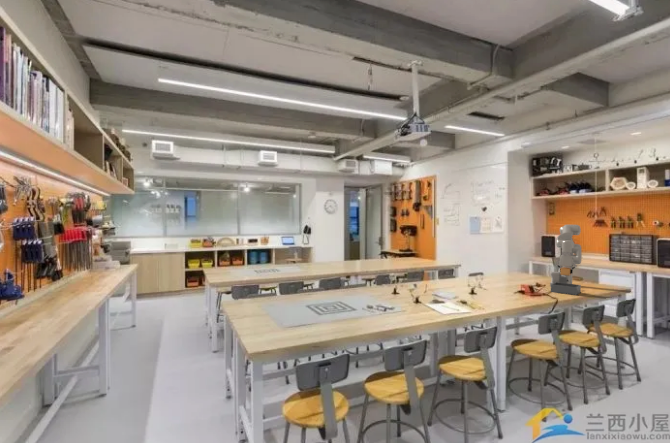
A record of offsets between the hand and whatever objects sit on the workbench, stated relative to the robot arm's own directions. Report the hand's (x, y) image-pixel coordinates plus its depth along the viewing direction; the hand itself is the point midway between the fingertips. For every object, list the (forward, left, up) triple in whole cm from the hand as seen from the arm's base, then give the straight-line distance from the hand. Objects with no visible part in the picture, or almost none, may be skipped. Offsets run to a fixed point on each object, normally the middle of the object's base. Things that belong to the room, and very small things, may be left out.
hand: (566, 273), depth 319 cm
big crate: (0, 0, -18) cm, 18 cm away
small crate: (0, 0, -1) cm, 1 cm away
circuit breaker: (-20, -9, -18) cm, 28 cm away
